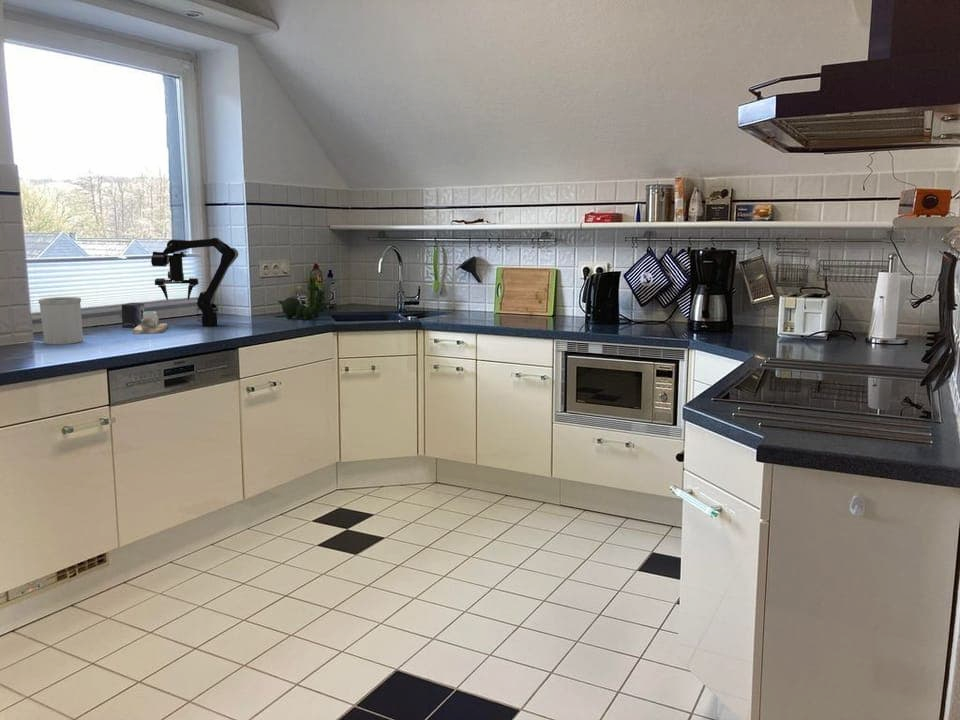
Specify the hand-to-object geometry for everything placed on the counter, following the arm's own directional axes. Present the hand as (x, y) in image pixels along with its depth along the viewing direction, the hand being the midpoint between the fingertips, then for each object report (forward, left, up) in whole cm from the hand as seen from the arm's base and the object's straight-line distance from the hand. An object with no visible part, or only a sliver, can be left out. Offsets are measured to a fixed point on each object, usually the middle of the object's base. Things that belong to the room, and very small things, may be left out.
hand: (177, 300), depth 359 cm
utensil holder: (+40, +45, -12) cm, 61 cm away
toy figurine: (-57, -15, -12) cm, 60 cm away
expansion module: (+11, +14, -10) cm, 20 cm away
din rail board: (+11, +14, -12) cm, 21 cm away
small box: (+20, -3, -12) cm, 24 cm away
